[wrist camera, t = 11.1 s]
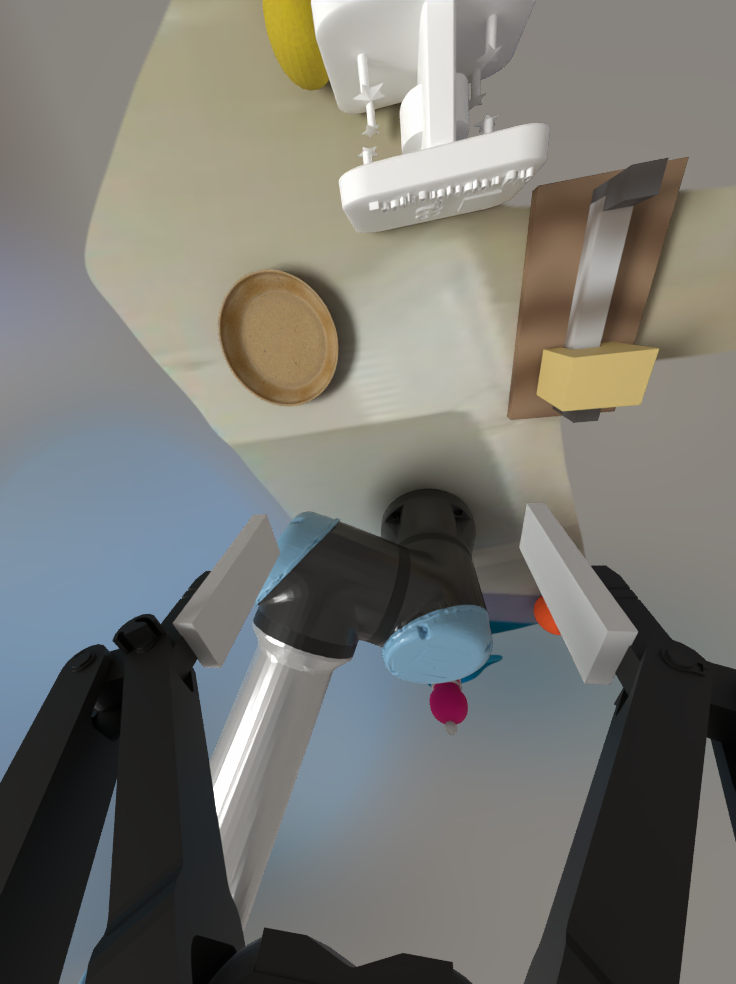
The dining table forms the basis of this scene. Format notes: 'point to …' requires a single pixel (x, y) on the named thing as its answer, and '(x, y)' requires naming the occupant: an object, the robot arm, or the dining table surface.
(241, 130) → the dining table surface
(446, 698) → the pepper mill
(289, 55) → the lemon
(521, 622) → the dining table surface
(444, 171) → the cable organizer
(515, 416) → the rail board
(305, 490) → the dining table surface
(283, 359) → the plant saucer
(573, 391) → the slider
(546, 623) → the clementine
